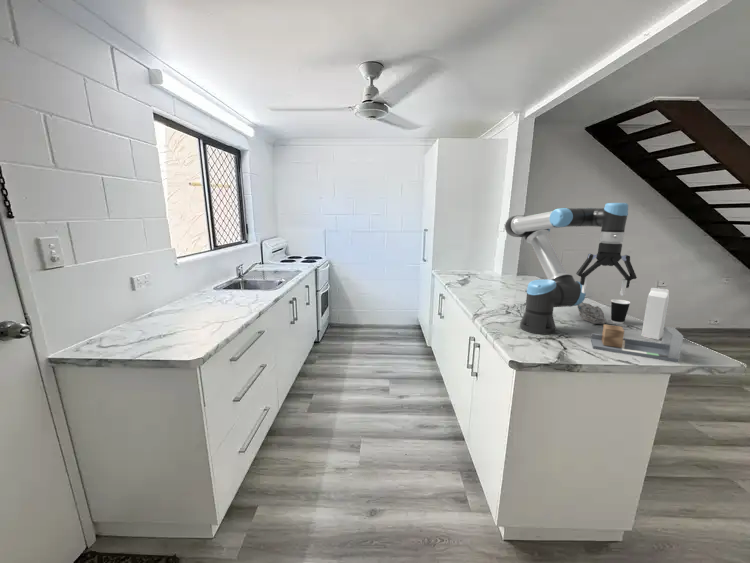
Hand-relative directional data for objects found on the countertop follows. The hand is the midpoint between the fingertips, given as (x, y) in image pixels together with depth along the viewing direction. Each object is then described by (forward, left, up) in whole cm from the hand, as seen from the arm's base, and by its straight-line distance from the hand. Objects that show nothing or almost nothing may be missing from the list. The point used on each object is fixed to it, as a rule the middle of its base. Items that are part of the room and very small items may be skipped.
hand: (602, 294), depth 131 cm
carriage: (+5, -4, -20) cm, 21 cm away
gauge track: (+11, -4, -21) cm, 24 cm away
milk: (+22, +19, -21) cm, 36 cm away
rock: (0, +32, -22) cm, 39 cm away
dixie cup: (+12, +36, -21) cm, 44 cm away
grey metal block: (+23, -4, -20) cm, 30 cm away
